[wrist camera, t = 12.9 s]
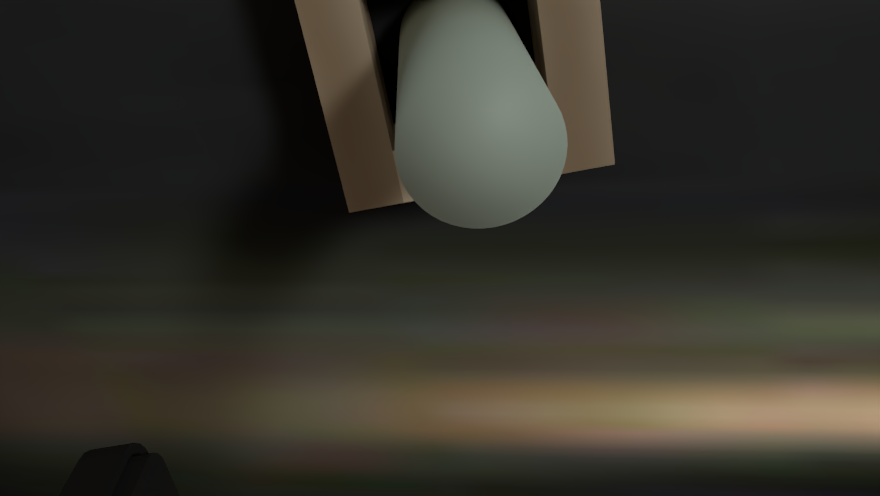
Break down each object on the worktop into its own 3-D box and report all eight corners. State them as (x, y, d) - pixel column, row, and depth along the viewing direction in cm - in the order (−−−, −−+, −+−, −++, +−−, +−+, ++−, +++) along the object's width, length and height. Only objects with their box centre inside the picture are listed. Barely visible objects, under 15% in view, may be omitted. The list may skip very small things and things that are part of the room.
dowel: (501, -31, 28) (557, 48, 18) (516, 80, 30) (576, 212, 20) (389, -9, 29) (378, 82, 18) (411, 100, 30) (413, 241, 20)
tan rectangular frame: (570, -134, 27) (587, -131, 24) (597, 136, 31) (614, 164, 29) (289, -78, 27) (276, -68, 25) (354, 181, 32) (348, 212, 29)
